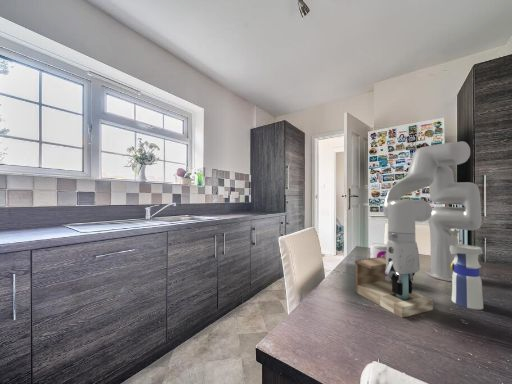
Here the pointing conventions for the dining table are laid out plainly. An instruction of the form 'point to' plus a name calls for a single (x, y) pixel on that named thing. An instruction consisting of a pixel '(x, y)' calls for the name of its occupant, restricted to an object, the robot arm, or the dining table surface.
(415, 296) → the socket block
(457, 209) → the robot arm
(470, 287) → the water bottle
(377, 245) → the supplement can
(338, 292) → the dining table surface
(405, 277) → the peg
